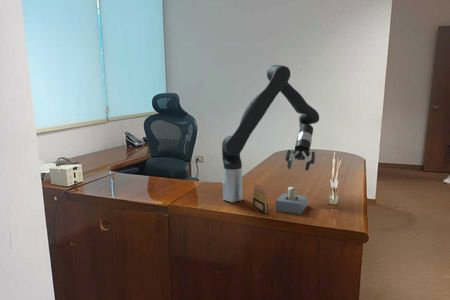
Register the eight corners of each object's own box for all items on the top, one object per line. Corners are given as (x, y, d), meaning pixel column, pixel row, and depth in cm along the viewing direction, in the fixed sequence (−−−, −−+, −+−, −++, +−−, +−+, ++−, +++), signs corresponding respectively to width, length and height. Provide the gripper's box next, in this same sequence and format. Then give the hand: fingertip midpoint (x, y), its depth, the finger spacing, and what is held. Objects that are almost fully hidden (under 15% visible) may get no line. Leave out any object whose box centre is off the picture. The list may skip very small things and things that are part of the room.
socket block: (275, 210, 161) (275, 200, 160) (283, 202, 172) (283, 193, 171) (301, 214, 156) (301, 203, 155) (307, 205, 166) (307, 195, 165)
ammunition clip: (268, 213, 158) (267, 188, 156) (264, 214, 157) (264, 189, 155) (256, 206, 167) (255, 182, 165) (252, 207, 167) (252, 183, 164)
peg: (287, 208, 163) (287, 188, 161) (289, 206, 166) (289, 186, 164) (294, 209, 161) (294, 189, 160) (296, 207, 165) (296, 187, 163)
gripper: (288, 137, 178) (282, 164, 170) (316, 138, 172) (311, 166, 164) (291, 146, 183) (285, 171, 175) (318, 147, 177) (313, 174, 169)
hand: (297, 169), depth 170 cm, fingers open, 8 cm apart
